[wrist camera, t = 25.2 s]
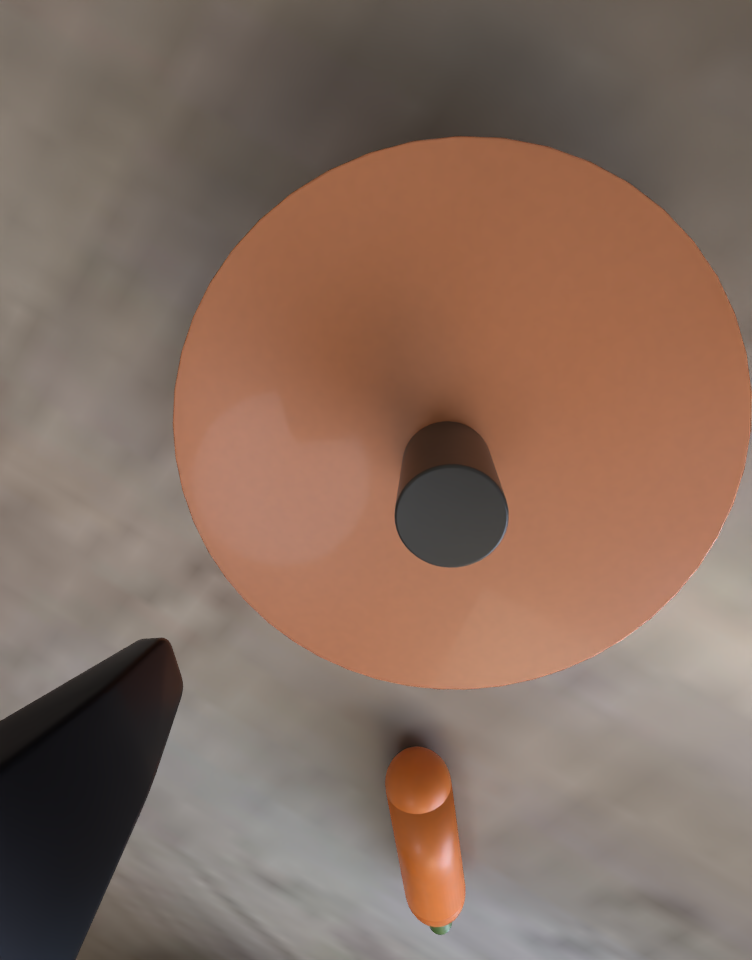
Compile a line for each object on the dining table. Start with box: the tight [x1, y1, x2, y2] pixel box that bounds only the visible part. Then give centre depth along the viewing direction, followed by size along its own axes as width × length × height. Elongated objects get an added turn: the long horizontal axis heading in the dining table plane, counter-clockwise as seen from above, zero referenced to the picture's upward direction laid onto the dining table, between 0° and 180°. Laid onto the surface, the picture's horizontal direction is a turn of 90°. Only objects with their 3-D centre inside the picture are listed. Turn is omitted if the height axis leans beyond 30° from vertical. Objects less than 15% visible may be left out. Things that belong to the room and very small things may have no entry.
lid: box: [173, 136, 751, 689], centre depth 15 cm, size 17×17×5 cm
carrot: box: [385, 747, 465, 935], centre depth 26 cm, size 11×3×3 cm, turn 8°
